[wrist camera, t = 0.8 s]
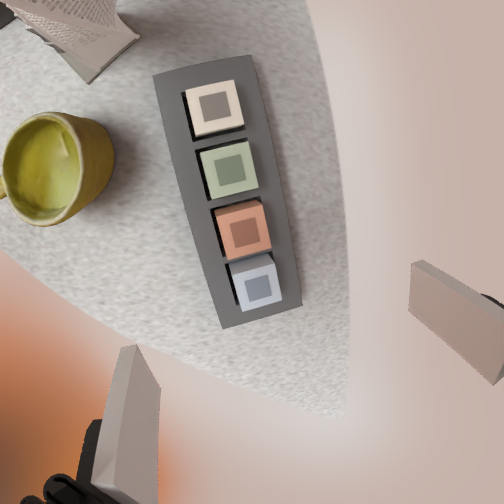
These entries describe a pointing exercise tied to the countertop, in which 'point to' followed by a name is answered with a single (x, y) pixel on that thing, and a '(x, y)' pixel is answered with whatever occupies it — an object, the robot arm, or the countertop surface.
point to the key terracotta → (243, 229)
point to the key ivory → (214, 108)
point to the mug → (55, 167)
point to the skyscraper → (77, 31)
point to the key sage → (229, 170)
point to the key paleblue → (255, 281)
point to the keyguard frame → (198, 206)
